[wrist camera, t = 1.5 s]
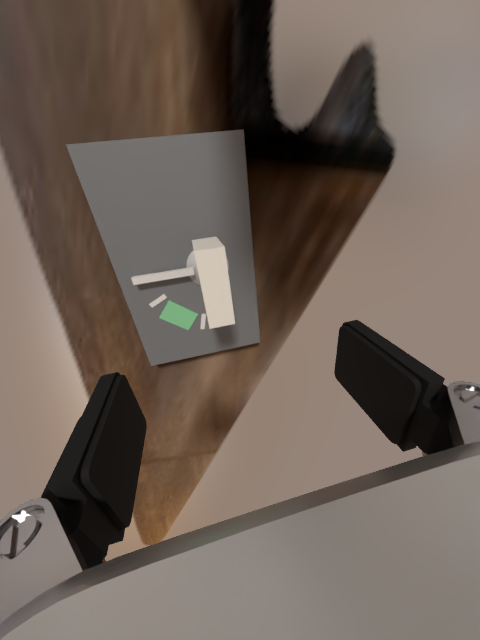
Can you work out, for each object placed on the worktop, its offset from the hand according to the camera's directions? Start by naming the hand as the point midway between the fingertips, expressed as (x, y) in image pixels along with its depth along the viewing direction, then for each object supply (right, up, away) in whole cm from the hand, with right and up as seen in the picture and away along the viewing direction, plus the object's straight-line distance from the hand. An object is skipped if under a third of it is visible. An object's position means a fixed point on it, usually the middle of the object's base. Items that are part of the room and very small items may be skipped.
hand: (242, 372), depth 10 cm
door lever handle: (-6, +7, +13) cm, 16 cm away
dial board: (-6, +8, +16) cm, 19 cm away
